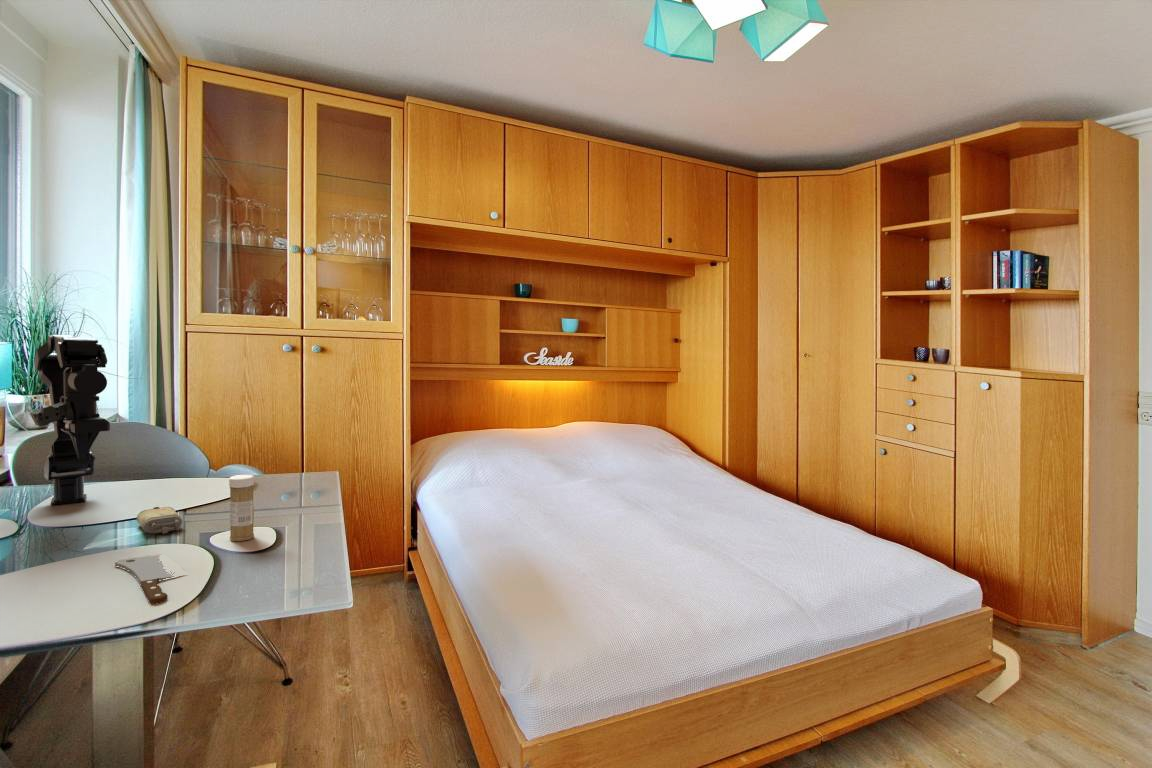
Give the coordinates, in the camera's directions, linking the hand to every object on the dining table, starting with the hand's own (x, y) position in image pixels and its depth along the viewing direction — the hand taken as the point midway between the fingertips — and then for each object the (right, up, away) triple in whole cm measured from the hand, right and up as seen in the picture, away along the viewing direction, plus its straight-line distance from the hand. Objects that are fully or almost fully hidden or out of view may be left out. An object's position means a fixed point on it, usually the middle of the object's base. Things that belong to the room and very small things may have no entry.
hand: (81, 458), depth 134 cm
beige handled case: (+20, -12, -4) cm, 24 cm away
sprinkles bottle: (+44, -16, -12) cm, 48 cm away
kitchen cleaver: (+41, -17, -32) cm, 55 cm away
